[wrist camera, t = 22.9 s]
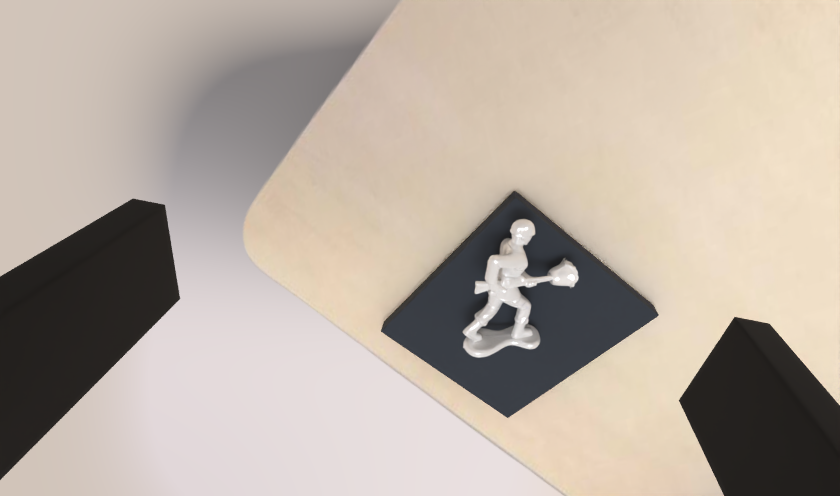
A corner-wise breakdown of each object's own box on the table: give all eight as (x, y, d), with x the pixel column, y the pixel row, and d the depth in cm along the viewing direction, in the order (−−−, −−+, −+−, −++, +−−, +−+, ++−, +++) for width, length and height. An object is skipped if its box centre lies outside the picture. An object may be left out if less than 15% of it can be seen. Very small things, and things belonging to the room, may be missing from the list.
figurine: (453, 332, 41) (453, 222, 34) (540, 305, 43) (556, 198, 36) (476, 371, 37) (481, 257, 30) (569, 340, 40) (594, 227, 33)
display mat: (383, 322, 45) (380, 331, 44) (514, 190, 37) (515, 197, 35) (507, 407, 49) (507, 418, 47) (653, 305, 40) (659, 315, 39)
